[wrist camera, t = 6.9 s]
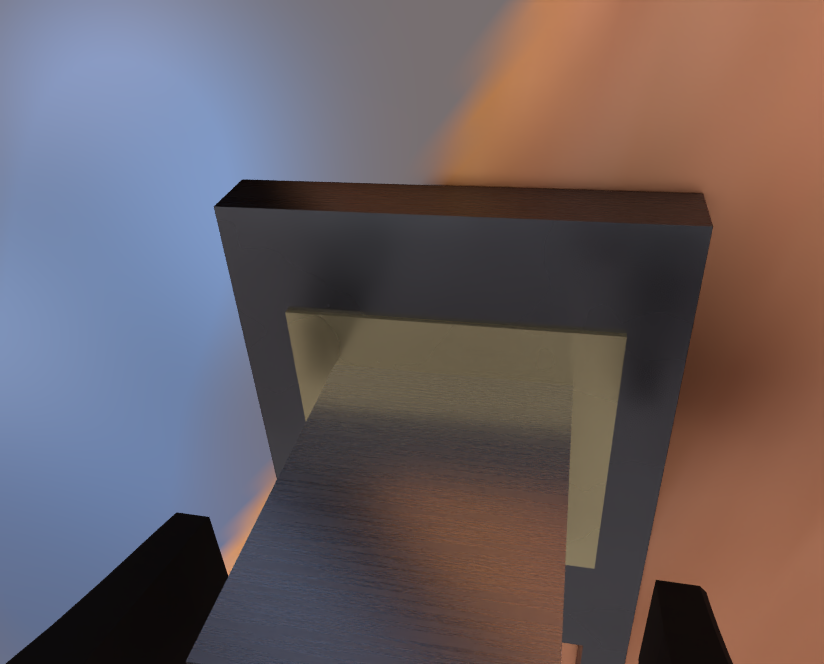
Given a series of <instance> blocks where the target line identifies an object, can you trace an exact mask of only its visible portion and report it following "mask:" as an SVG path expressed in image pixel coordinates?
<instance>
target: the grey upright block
mask: <svg viewBox="0 0 824 664" xmlns="http://www.w3.org/2000/svg"><path fill="white" fill-rule="evenodd" d="M572 401H573V385H563V384H552V383H540V382H529V381H517V380H506V379H494V378H483V377H472V376H460V375H449V374H437V373H426V372H414V371H403V370H392V369H380V368H369V367H357V366H346V365H334V367H333V369H332V371H331V373H330V375H329V377H328V379H327V381H326V383H325V385H324V387H323V389H322V391H321V393H320V395H319V397H318V399H317V401H316V403H315V405H314V407H313V409H312V411H311V413H310V415H309V417H308V419H307V421H306V423H305V425H304V427H303V429H302V431H301V433H300V435H299V437H298V439H297V441H296V443H295V445H294V447H293V449H292V451H291V453H290V455H289V457H288V459H287V461H286V463H285V465H284V467H283V469H282V471H281V473H280V475H279V477H278V479H277V481H276V483H275V485H274V487H273V489H272V491H271V493H270V495H269V497H268V499H267V501H266V503H265V505H264V507H263V509H262V511H261V513H260V515H259V517H258V519H257V521H256V523H255V525H254V527H253V529H252V531H251V533H250V535H249V537H248V539H247V541H246V543H245V545H244V547H243V549H242V551H241V553H240V555H239V557H238V558H237V560H236V562H235V564H234V566H233V568H232V570H231V572H230V574H229V576H228V578H227V580H226V582H225V584H224V586H223V588H222V590H221V592H220V594H219V596H218V598H217V600H216V602H215V604H214V606H213V608H212V610H211V612H210V614H209V616H208V618H207V620H206V622H205V624H204V626H203V628H202V630H201V632H200V634H199V636H198V638H197V640H196V642H195V644H194V646H193V648H192V650H191V652H190V654H189V656H188V658H187V660H186V664H561V651H562V628H563V605H564V583H565V560H566V537H567V515H568V492H569V469H570V447H571V424H572Z"/></svg>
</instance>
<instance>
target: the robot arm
mask: <svg viewBox="0 0 824 664" xmlns="http://www.w3.org/2000/svg"><path fill="white" fill-rule="evenodd" d="M227 578H228V574H227V571H226V568H225V565H224V562H223V558H222V555H221V552H220V549H219V546H218V543H217V540H216V537H215V534H214V530H213V527H212V524H211V521H210V518H209V517H205V516H198V515H190V514H183V513H176V514H174V516H172V517H171V518H170V519H169V520H168V521H167V522H165V523H164V524H163V525H162V526H161V527H160V528H159V529H158V530H157V531H156V532H154V533H153V534H152V535H151V536H150V537H149V538H148V539H147V540H146V541H145V542H144V543H142V544H141V545H140V546H139V547H138V548H137V549H136V550H135V551H134V552H133V553H132V554H131V555H130V556H128V557H127V558H126V559H125V560H124V561H123V562H122V563H121V564H120V565H119V566H118V567H117V568H115V569H114V570H113V571H112V572H111V573H110V574H109V575H108V576H107V577H106V578H105V579H103V580H102V581H101V582H100V583H99V584H98V585H97V586H96V587H95V588H93V589H92V590H91V591H90V592H89V593H88V594H87V595H86V596H84V597H83V598H82V599H81V600H80V601H79V602H78V603H77V604H75V605H74V606H73V607H72V608H71V609H70V610H69V611H68V612H66V613H65V614H64V615H63V616H62V617H61V618H60V619H58V620H57V621H56V622H55V623H54V624H53V625H52V626H50V627H49V628H48V629H47V630H46V631H44V632H43V633H42V634H41V635H40V636H38V637H37V638H36V639H35V640H34V641H32V642H31V643H30V644H29V645H27V646H26V647H25V648H24V649H23V650H22V651H20V652H19V653H18V654H17V655H15V656H14V657H13V658H12V659H11V660H10V661H8V662H7V663H6V664H186V660H187V658H188V656H189V654H190V652H191V650H192V648H193V646H194V644H195V642H196V640H197V638H198V636H199V634H200V632H201V630H202V628H203V626H204V624H205V622H206V620H207V618H208V616H209V614H210V612H211V610H212V608H213V606H214V604H215V602H216V600H217V598H218V596H219V594H220V592H221V590H222V588H223V586H224V584H225V582H226V580H227ZM639 664H733V663H732V660H731V658H730V655H729V653H728V651H727V648H726V646H725V643H724V641H723V638H722V635H721V633H720V630H719V628H718V625H717V622H716V620H715V617H714V614H713V611H712V608H711V606H710V603H709V599H708V596H707V593H706V592H705V591H704V590H703V589H702V588H701V587H700V586H695V585H688V584H681V583H674V582H667V581H660V580H656V582H655V586H654V591H653V595H652V600H651V605H650V609H649V614H648V618H647V623H646V627H645V632H644V636H643V641H642V645H641V650H640V655H639Z"/></svg>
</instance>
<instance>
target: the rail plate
mask: <svg viewBox="0 0 824 664" xmlns="http://www.w3.org/2000/svg"><path fill="white" fill-rule="evenodd" d="M214 210H215V214H216V218H217V222H218V226H219V231H220V236H221V240H222V244H223V248H224V253H225V257H226V261H227V266H228V270H229V274H230V278H231V283H232V287H233V292H234V296H235V300H236V305H237V308H238V313H239V318H240V322H241V326H242V330H243V334H244V339H245V343H246V348H247V352H248V356H249V361H250V365H251V369H252V374H253V378H254V382H255V387H256V391H257V395H258V399H259V404H260V408H261V412H262V417H263V421H264V425H265V429H266V434H267V438H268V443H269V447H270V451H271V456H272V460H273V464H274V469H275V473H276V477H277V479H278V477H279V475H280V473H281V471H282V469H283V467H284V465H285V463H286V461H287V459H288V457H289V455H290V453H291V451H292V449H293V447H294V445H295V443H296V441H297V439H298V437H299V435H300V433H301V431H302V429H303V427H304V425H305V423H306V421H307V419H308V417H309V415H310V413H311V411H312V409H313V407H314V405H315V403H316V401H317V399H318V397H319V395H320V393H321V391H322V389H323V387H324V385H325V383H326V381H327V379H328V377H329V375H330V373H331V371H332V369H333V367H334V365H346V366H357V367H369V368H380V369H392V370H403V371H414V372H426V373H437V374H449V375H460V376H472V377H483V378H494V379H506V380H517V381H529V382H540V383H552V384H563V385H573V401H572V424H571V447H570V469H569V492H568V515H567V537H566V560H565V583H564V605H563V628H562V642H564V643H570V644H576V645H578V650H577V657H576V664H625V659H626V654H627V649H628V644H629V639H630V634H631V629H632V624H633V619H634V614H635V610H636V605H637V600H638V595H639V590H640V585H641V580H642V575H643V570H644V565H645V560H646V555H647V550H648V545H649V540H650V535H651V530H652V525H653V521H654V516H655V511H656V506H657V501H658V496H659V491H660V486H661V481H662V476H663V471H664V466H665V461H666V456H667V451H668V446H669V441H670V436H671V432H672V427H673V422H674V417H675V412H676V407H677V402H678V397H679V392H680V387H681V382H682V377H683V372H684V367H685V362H686V357H687V352H688V347H689V343H690V338H691V333H692V328H693V323H694V318H695V313H696V308H697V303H698V298H699V293H700V288H701V283H702V278H703V273H704V268H705V263H706V258H707V254H708V249H709V244H710V239H711V234H712V229H713V225H712V222H711V218H710V215H709V212H708V208H707V205H706V202H705V198H704V195H703V194H694V193H661V192H629V191H597V190H565V189H533V188H500V187H468V186H436V185H404V184H371V183H339V182H304V181H274V180H241V181H240V182H239V183H238V184H237V185H236V186H235V187H234V188H233V189H232V190H231V191H230V192H229V193H228V194H227V195H226V196H225V197H223V198H222V199H221V200H220V201H219V202H218V203H217V204H216V205H215V206H214Z"/></svg>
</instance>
